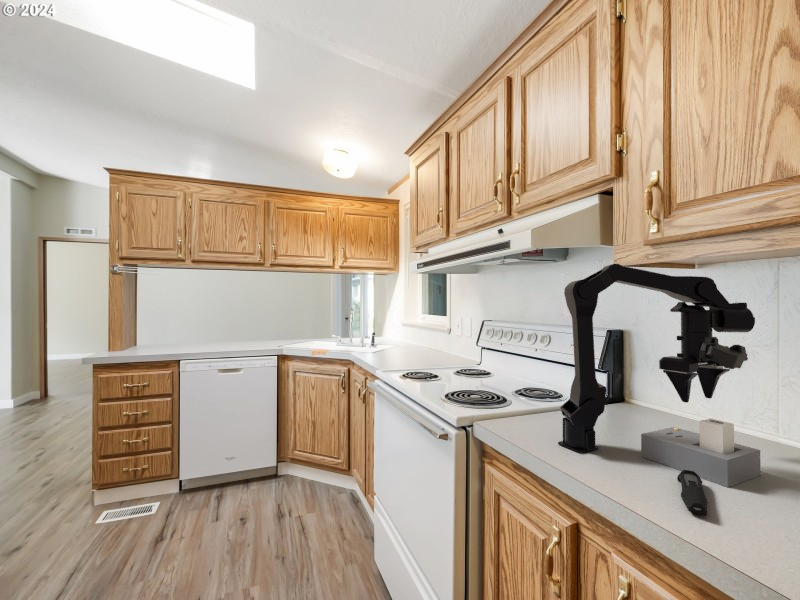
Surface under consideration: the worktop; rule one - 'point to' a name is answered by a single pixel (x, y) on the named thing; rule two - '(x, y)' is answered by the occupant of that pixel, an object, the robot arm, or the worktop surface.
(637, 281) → the robot arm
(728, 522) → the worktop surface
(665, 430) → the block
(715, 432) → the block
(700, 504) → the electric trimmer
